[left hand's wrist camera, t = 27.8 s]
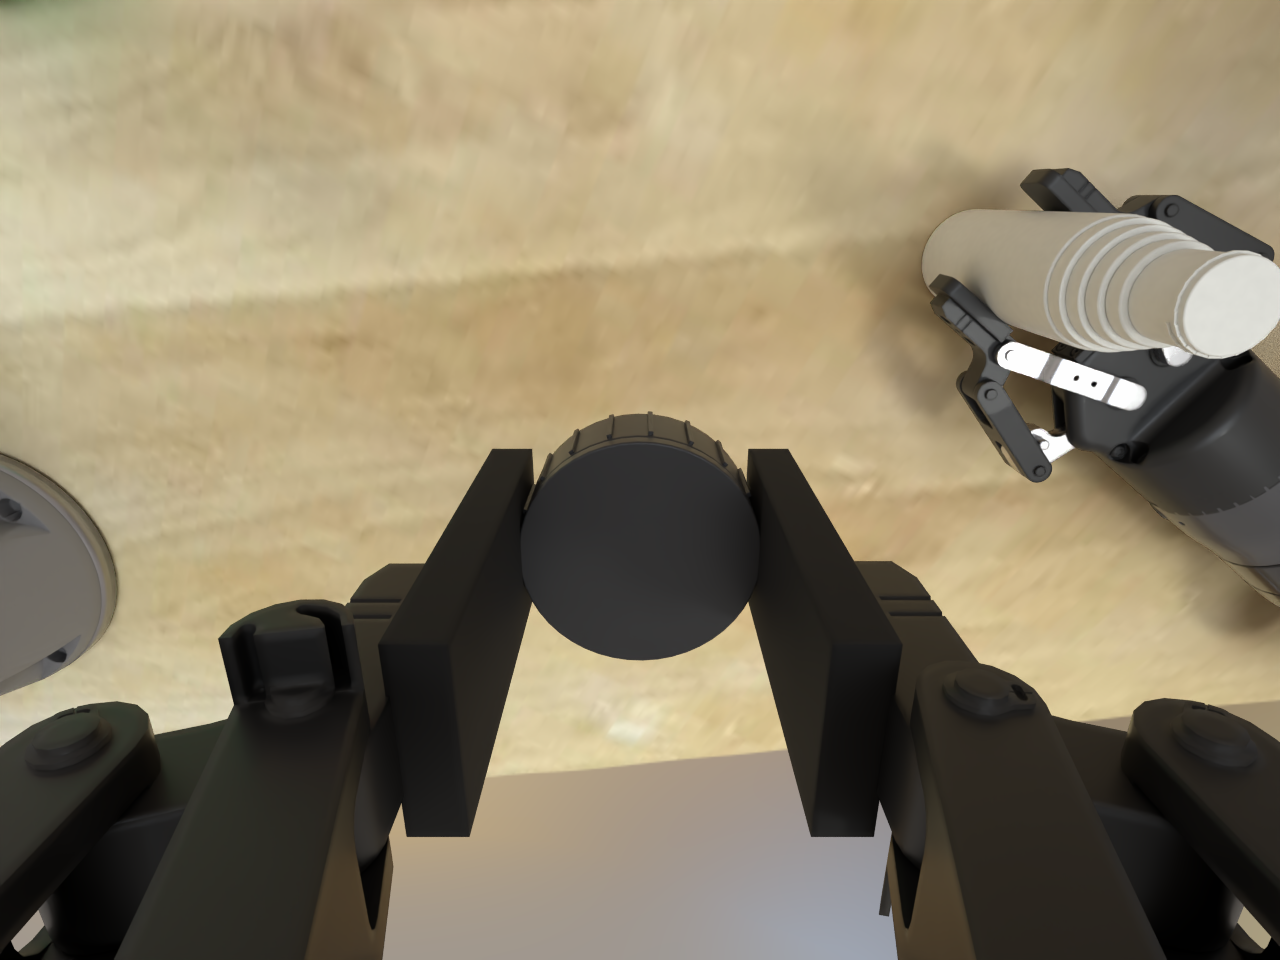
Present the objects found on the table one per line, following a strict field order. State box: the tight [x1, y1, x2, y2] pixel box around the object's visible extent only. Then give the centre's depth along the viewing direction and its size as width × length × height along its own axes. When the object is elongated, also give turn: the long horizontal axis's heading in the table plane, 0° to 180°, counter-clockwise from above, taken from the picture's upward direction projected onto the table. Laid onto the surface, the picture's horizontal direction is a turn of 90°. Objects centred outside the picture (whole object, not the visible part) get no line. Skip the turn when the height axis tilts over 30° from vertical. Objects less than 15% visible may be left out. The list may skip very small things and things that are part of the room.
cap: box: [520, 412, 760, 660], centre depth 13 cm, size 4×4×2 cm
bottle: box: [922, 209, 1280, 359], centre depth 30 cm, size 5×5×18 cm
